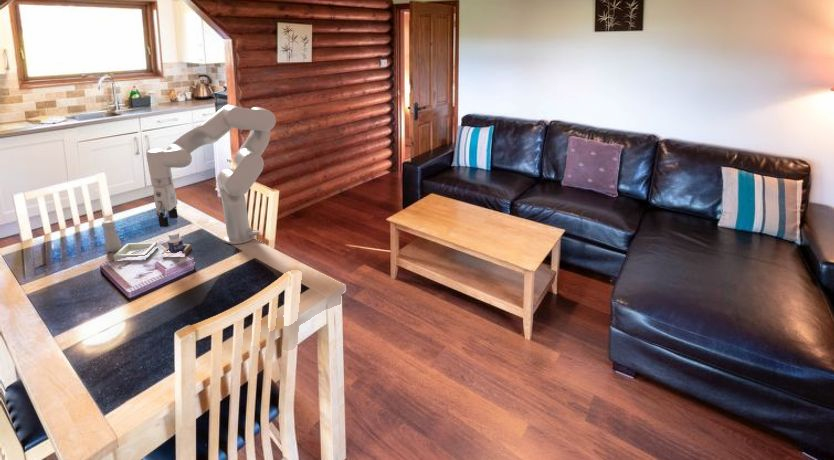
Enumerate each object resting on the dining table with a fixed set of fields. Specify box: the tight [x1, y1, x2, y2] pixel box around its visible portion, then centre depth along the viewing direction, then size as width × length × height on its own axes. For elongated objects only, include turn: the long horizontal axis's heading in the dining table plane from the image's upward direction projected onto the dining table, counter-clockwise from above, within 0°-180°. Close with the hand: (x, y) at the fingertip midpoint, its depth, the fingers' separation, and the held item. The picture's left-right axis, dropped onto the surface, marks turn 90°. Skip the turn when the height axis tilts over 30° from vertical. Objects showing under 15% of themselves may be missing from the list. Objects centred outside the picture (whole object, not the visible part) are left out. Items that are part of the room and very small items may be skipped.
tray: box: [113, 241, 158, 261], centre depth 200 cm, size 12×12×3 cm
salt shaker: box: [101, 220, 123, 253], centre depth 202 cm, size 6×6×13 cm
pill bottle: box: [167, 231, 184, 252], centre depth 200 cm, size 5×5×9 cm
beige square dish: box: [161, 243, 192, 255], centre depth 201 cm, size 8×8×2 cm
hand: (169, 222), depth 196 cm, fingers open, 9 cm apart
